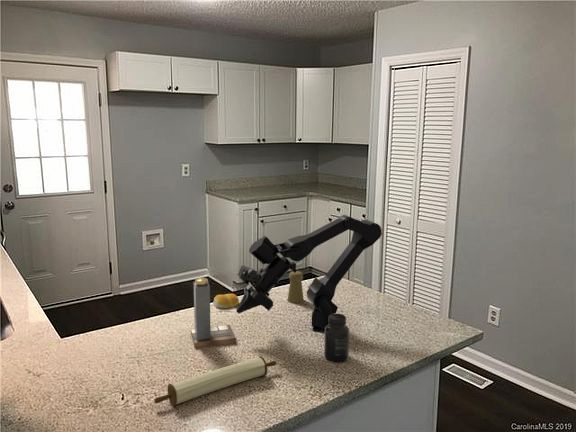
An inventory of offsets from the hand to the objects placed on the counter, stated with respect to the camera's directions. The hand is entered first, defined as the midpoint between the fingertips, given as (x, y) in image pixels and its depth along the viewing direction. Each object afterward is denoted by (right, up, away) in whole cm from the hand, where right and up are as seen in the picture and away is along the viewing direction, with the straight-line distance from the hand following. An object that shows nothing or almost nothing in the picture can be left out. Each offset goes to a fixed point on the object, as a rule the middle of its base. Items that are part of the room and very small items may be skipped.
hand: (237, 312), depth 140 cm
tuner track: (-8, -8, +1) cm, 11 cm away
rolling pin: (-1, -14, -26) cm, 29 cm away
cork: (+18, -3, +33) cm, 38 cm away
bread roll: (-7, -3, +28) cm, 29 cm away
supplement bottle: (+29, -11, -9) cm, 32 cm away
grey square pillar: (-11, -6, 0) cm, 12 cm away
